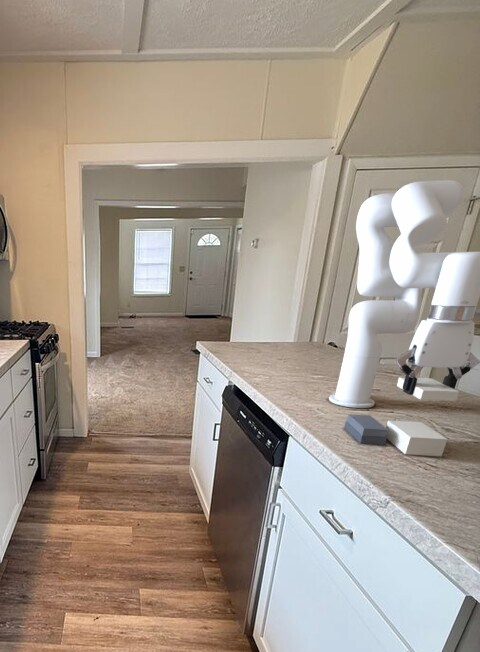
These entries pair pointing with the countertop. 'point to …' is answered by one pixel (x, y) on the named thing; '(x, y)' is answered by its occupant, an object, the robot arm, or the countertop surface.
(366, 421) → the grey books
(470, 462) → the countertop surface
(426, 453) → the white books
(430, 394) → the white book
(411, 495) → the countertop surface
